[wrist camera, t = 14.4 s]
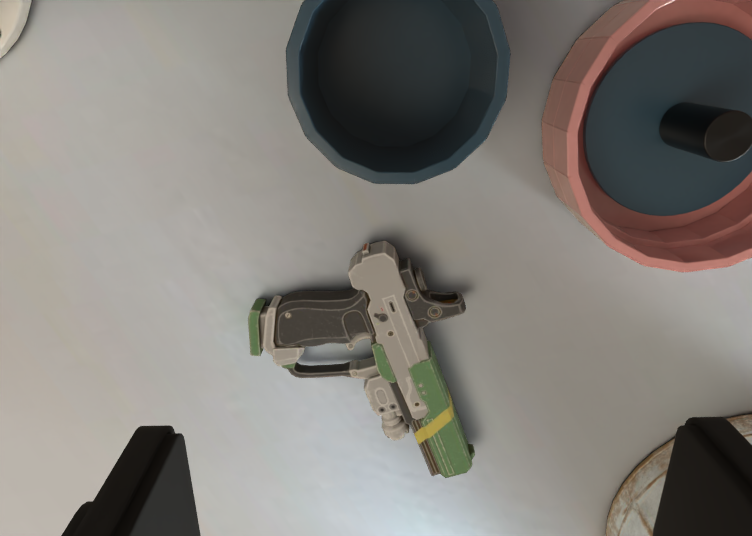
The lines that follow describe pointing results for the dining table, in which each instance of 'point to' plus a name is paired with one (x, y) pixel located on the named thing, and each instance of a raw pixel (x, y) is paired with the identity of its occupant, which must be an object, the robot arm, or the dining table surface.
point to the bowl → (574, 180)
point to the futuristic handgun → (376, 348)
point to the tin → (397, 83)
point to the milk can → (650, 489)
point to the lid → (673, 120)
